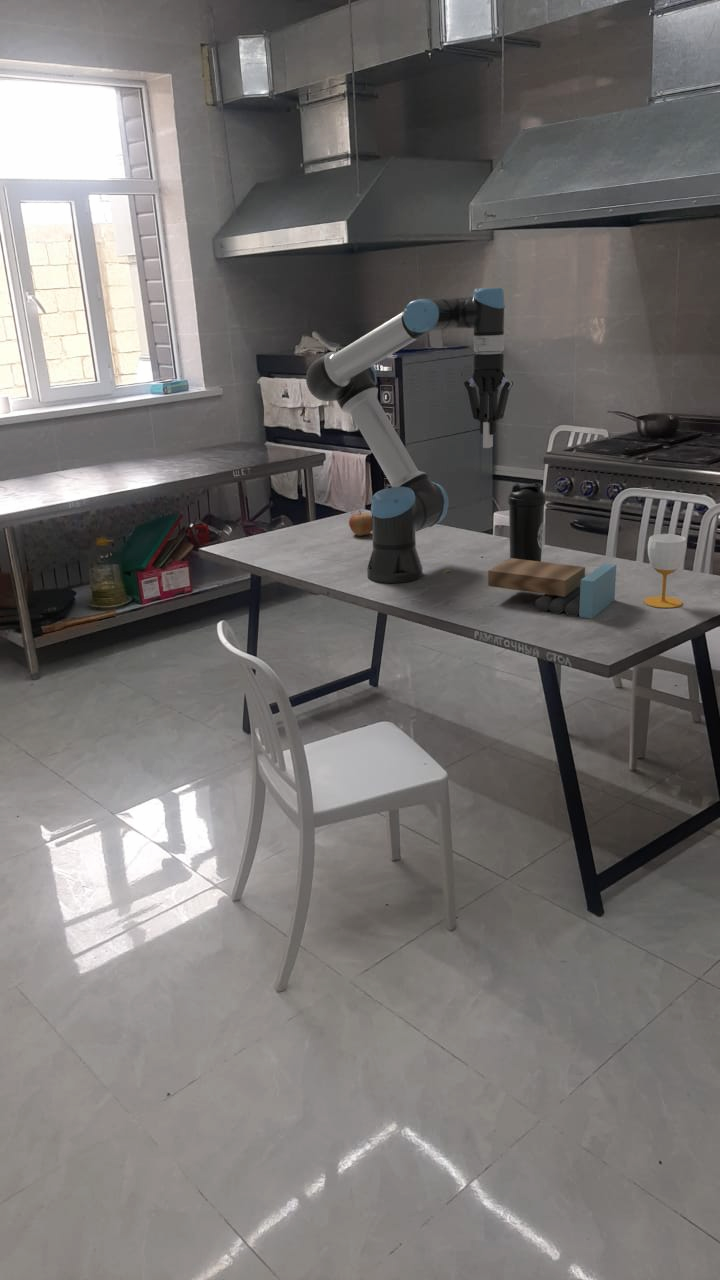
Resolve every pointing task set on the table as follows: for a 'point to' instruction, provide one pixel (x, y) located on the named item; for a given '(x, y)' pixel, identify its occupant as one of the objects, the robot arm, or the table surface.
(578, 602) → the cylinder
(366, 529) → the apple
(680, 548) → the cup
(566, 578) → the slab
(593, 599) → the block
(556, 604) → the roller mid
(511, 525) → the water bottle
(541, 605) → the roller rear
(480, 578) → the table surface
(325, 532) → the table surface
